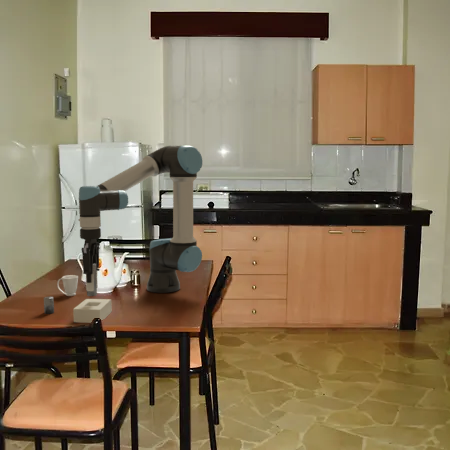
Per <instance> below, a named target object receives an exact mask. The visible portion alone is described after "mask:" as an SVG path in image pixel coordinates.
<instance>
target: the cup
mask: <svg viewBox="0 0 450 450" xmlns="http://www.w3.org/2000/svg"><path fill="white" fill-rule="evenodd" d="M78 280H79V275H77V274H76V275H75V274H70V275H69V274H67V275H63V276H62V277H61V278H59V279H58V280H57V285H56V286H57V289H58V290H59V291H60V292H61V294H64V295H65V296H67V297H72V296H73V297H74V296H76V295H77V293H76V292H77V290H78V282H79V281H78ZM60 281H62V285H63V290H64V291H63V290H62V289H61V288H60V285H59V284H60Z"/></svg>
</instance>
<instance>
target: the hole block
mask: <svg viewBox="0 0 450 450" xmlns="http://www.w3.org/2000/svg"><path fill="white" fill-rule="evenodd" d="M112 306H113V305H112V299H111V298H110V299H108V298H104V299H103V298H85V299H84V300H82V302H80V303H79V304H78V305H76V306H75V307H74V308H73V309H72V310H73V311H72V312H73V323H84V324H87V323H90V324H91V322H92V320H93V319H94V318H100V319H101V320H103V319H104V320H105V319H106V318H108V316H109V315H110V314H111V313H112V311H113V310H112V309H113V307H112ZM104 320H103V321H104Z"/></svg>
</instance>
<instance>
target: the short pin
mask: <svg viewBox="0 0 450 450" xmlns="http://www.w3.org/2000/svg"><path fill="white" fill-rule="evenodd" d="M43 312H44V314H46V315H51V314H54V313H55V302H54V296H51V295H50V296H44V297H43Z"/></svg>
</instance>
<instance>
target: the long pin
mask: <svg viewBox="0 0 450 450" xmlns="http://www.w3.org/2000/svg"><path fill="white" fill-rule="evenodd" d="M92 274H94V291H86V296H87V297H96V296H97V295H98V288H97V285H98V278H97V279H96V263H93V273H92Z"/></svg>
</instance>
